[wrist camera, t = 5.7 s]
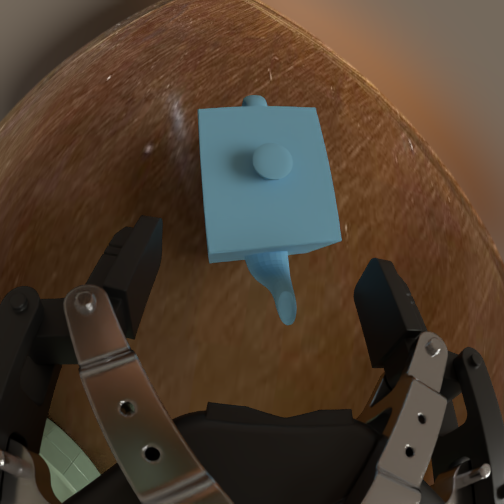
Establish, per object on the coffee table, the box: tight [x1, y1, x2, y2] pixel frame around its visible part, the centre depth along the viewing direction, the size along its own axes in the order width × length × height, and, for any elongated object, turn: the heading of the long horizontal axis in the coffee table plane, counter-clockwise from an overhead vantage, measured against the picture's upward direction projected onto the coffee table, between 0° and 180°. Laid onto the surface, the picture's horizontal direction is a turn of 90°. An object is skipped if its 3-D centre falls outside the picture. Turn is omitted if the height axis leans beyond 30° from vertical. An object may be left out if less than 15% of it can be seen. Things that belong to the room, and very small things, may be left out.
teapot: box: [198, 95, 342, 325], centre depth 15 cm, size 12×6×8 cm, turn 7°
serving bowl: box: [39, 418, 101, 503], centre depth 12 cm, size 16×16×4 cm
